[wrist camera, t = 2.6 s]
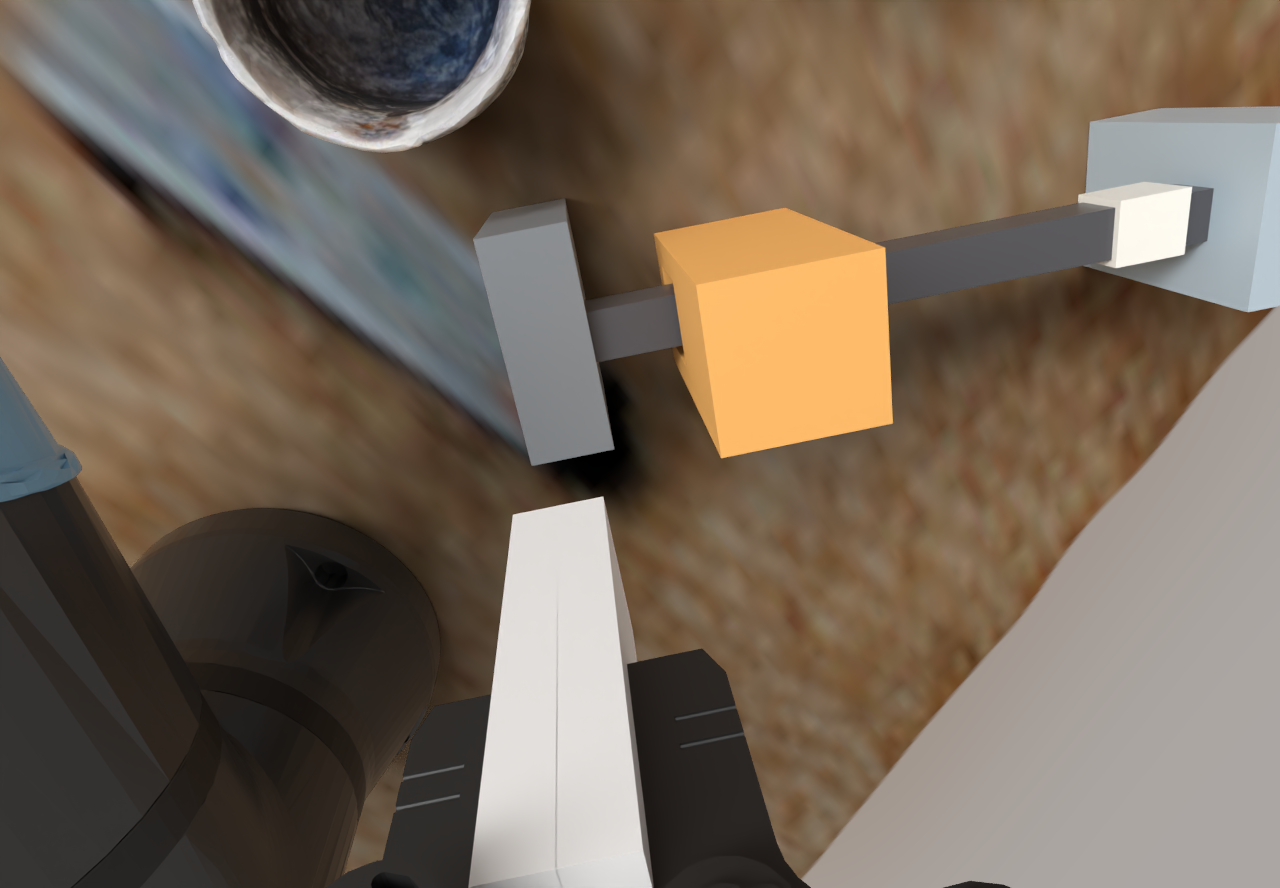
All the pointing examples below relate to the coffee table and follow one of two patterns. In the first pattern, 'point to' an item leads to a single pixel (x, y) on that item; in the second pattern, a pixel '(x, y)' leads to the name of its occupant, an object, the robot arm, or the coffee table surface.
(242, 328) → the coffee table surface
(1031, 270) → the rail rig
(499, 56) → the mug
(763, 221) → the orange sliding sleeve
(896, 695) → the coffee table surface
